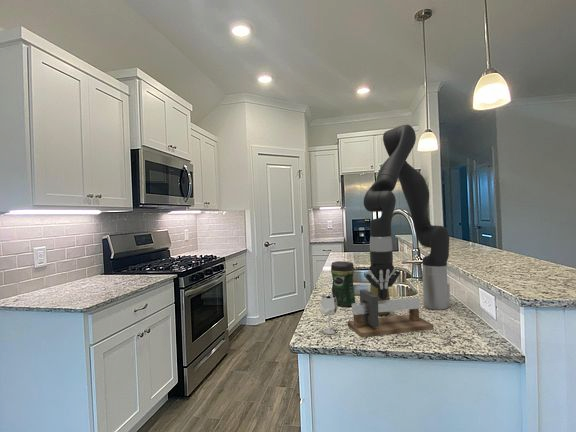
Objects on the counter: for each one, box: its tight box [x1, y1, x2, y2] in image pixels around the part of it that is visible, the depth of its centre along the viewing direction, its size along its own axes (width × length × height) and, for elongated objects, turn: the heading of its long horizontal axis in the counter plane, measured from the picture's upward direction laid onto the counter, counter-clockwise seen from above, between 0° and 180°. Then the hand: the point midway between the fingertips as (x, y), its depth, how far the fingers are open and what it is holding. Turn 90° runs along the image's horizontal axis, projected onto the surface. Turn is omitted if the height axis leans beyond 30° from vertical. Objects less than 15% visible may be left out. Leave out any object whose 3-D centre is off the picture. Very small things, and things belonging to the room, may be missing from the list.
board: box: [347, 308, 435, 338], centre depth 120 cm, size 26×12×6 cm, turn 102°
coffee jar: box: [330, 260, 356, 307], centre depth 149 cm, size 10×8×19 cm
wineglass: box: [319, 294, 338, 335], centre depth 118 cm, size 6×6×12 cm
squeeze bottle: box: [369, 275, 391, 316], centre depth 135 cm, size 8×8×18 cm
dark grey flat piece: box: [359, 289, 379, 327], centre depth 118 cm, size 2×10×10 cm, turn 12°
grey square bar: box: [351, 297, 421, 315], centre depth 120 cm, size 24×4×4 cm, turn 102°
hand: (382, 299), depth 120 cm, fingers closed
